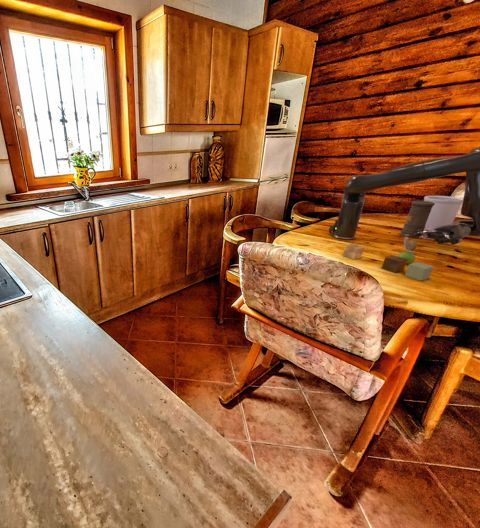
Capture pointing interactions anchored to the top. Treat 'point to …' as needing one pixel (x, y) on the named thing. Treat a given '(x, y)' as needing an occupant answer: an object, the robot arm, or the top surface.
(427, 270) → the sage block
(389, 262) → the walnut block
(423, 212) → the container
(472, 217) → the robot arm
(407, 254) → the snail figurine
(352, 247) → the mauve cube
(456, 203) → the utensil holder
